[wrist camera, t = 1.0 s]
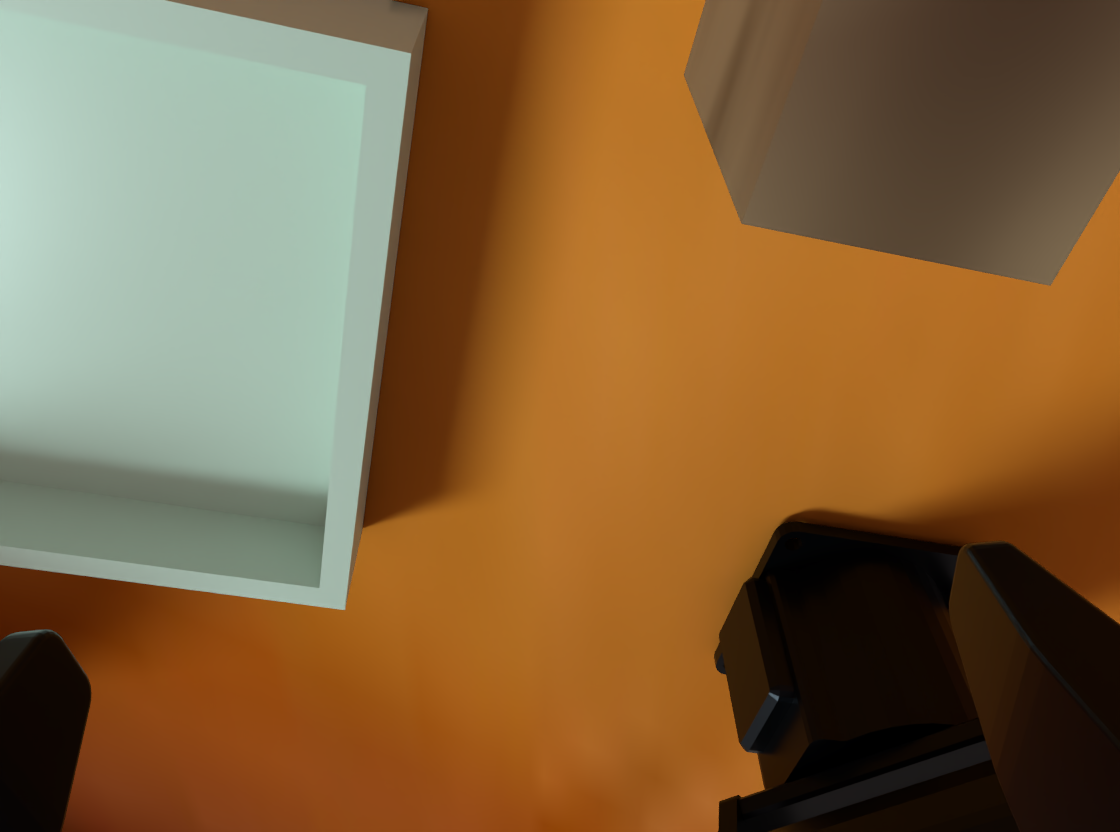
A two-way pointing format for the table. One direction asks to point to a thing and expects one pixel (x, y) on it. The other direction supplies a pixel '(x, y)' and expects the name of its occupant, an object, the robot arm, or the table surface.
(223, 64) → the tray
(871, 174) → the walnut block
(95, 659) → the table surface
